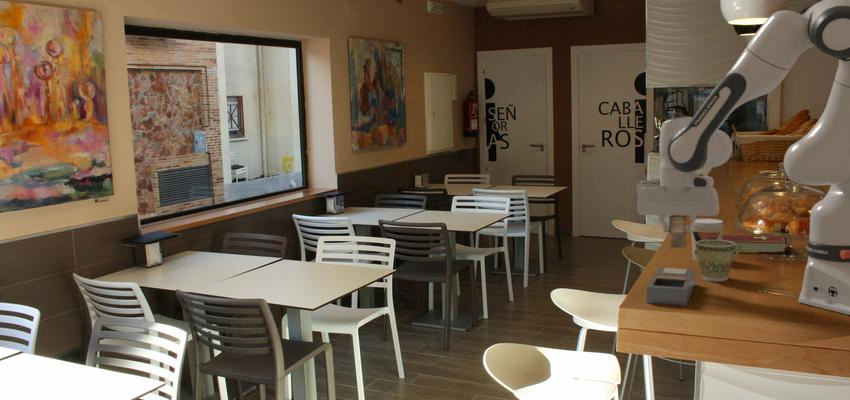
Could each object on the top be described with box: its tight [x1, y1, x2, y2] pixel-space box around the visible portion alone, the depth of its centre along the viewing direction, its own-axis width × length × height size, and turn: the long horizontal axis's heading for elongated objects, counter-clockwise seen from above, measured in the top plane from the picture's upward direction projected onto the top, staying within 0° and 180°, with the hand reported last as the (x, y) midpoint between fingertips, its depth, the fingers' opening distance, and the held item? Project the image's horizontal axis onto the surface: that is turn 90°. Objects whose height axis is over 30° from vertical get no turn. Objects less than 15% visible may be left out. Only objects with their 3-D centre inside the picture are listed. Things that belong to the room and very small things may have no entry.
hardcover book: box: [722, 234, 786, 254], centre depth 247 cm, size 12×21×4 cm, turn 76°
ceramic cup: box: [696, 240, 741, 283], centre depth 209 cm, size 13×10×10 cm
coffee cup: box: [691, 218, 724, 263], centre depth 232 cm, size 9×9×12 cm
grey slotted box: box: [646, 267, 696, 307], centre depth 195 cm, size 22×9×4 cm, turn 156°
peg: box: [669, 215, 687, 248], centre depth 200 cm, size 4×4×8 cm
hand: (677, 232), depth 200 cm, fingers closed on peg, 4 cm apart
